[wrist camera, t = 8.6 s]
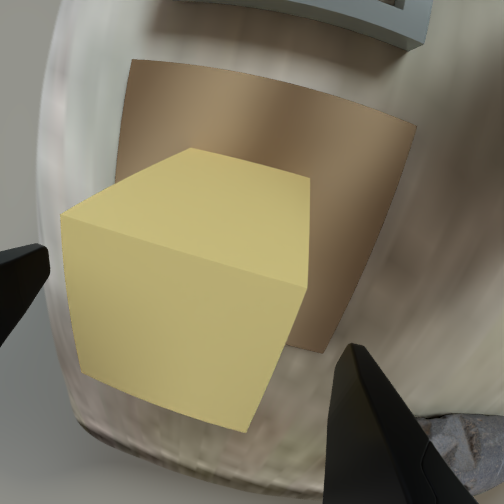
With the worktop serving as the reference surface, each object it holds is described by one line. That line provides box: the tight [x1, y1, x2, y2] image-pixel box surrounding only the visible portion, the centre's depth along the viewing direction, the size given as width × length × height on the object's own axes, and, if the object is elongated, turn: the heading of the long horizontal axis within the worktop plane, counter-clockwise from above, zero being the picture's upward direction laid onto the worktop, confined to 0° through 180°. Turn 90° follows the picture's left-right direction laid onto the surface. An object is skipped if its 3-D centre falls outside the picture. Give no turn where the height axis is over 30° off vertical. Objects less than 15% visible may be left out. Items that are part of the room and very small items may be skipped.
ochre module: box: [60, 148, 310, 433], centre depth 10 cm, size 5×5×8 cm
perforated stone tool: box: [416, 414, 504, 495], centre depth 16 cm, size 15×5×7 cm, turn 82°
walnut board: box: [115, 59, 417, 354], centre depth 14 cm, size 12×12×1 cm
